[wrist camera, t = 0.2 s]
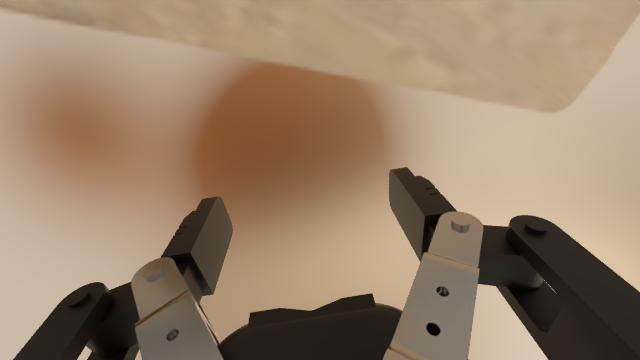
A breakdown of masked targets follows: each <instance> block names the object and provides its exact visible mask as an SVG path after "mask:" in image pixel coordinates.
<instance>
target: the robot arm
mask: <svg viewBox="0 0 640 360" xmlns="http://www.w3.org/2000/svg"><path fill="white" fill-rule="evenodd" d="M389 201H390V206H391V209H392V211H393V213H394V214H395V216H396V218H397V220H398V222H399V224H400V225H401V227H402V229H403V231H404V233H405V235H406V236H407V238H408V240H409V242H410V244H411V246H412V247H413V249H414V251H415V253H416V255H417V257H418V258H419V260H420V265H419V268H418V271H417V273H416V276H415V279H414V282H413V284H412V287H411V290H410V293H409V295H408V298H407V301H406V304H405V307H404V309H403V311H401V310H399V309H397V308H395V307H392V306H389V305H384V304H379V303H375V301H374V298H373V294H366V295H359V296H352V297H347V298H341V299H339V300H337V301H334V302H332V303H330V304H327V305H325V306H323V307H320V308H318V309H316V310H312V311H306V310H296V309H285V308H278V309H271V310H265V311H259V312H253V313H250V317H249V323H248V324H247V325H245V326H243V327H241V328H239V329H237V330H236V331H234V332H233V333H232V334H230V335H229V336H228V337H227V338H225V339H224V340H223V341H222V342H221V341H220V339H219V338H218V336H217V334H216V332H215V330H214V328H213V326H212V325H211V323H210V321H209V319H208V317H207V315H206V313H205V311H204V310H203V308H202V306H201V304H200V300H201V297H202V296H205V295H212V294H213V293H214V291H215V287H216V284H217V281H218V278H219V275H220V272H221V268H222V265H223V262H224V259H225V256H226V253H227V249H228V246H229V243H230V240H231V237H232V231H233V229H232V223H231V220H230V217H229V215H228V213H227V210H226V208H225V205H224V203H223V200H222V198H221V197H212V198H206V199H203V200H201V202H200V204H199V205H198V207H197V209H196V211H192V212H191V213H190V214H189V215H188V216H187V217H185V219H184V220H183V222H182V223H181V225H180V226H179V229H178V230H177V231H176V233H175V236H173V238H172V239H171V241H170V243H169V244H168V246H167V248H166V249H165V251H164V253H163V255H162V256H161V258H159V259H156V260H153V261H151V262H149V263H148V264H146V265H144V266H143V267H142V268H141V269H139V270H138V272H136V274H135V275H134V277H133V278H132V281H131V282H129V283H127V284H124V285H121V286H119V287H116V288H114V289H111V290H108V289H107V287H106V286H105V285H104V284H103V283H100V282H95V283H90V284H87V285H85V286H82V287H80V288H78V289H77V290H75V291H73V292H72V293H71V294H69V295H68V296H67V297H66V298H64V299H63V300H62V301H61V302H60V303H59V304H58V305H57V307H56V308H55V309H54V310H53V312H52V313H51V314H50V315H49V316H48V318H47V319H46V320H45V321H44V322H43V324H42V325H41V326H40V327H39V329H38V330H37V331H36V332H35V334H34V335H33V336H32V337H31V339H30V340H29V341H28V342H27V343H26V344H25V346H24V347H23V348H22V349H21V351H20V352H19V353H18V354H17V356H16V357H15V358H14V359H13V360H77V359H78V357H79V355H80V354H81V352H82V351H83V349H84V347H85V346H87V347H88V348H89V349H91V350H92V352H91V354H90V356H89V357H88V359H87V360H135V358H136V355H137V353H138V351H139V349H140V352H141V357H142V360H468V353H469V345H470V337H471V330H472V322H473V315H474V307H475V300H476V293H477V285H478V284H484V285H492V286H496V287H497V288H498V289H499V291H500V292H501V294H502V295H503V297H504V298H505V299H506V301H507V302H508V304H509V305H510V306H511V308H512V309H513V311H514V312H515V313H516V315H517V316H518V318H519V319H520V320H521V322H522V323H523V325H524V326H525V327H526V329H527V330H528V332H529V333H530V334H531V336H532V337H533V338H534V340H535V341H536V342H537V344H538V346H539V347H540V348H541V350H542V351H543V353H544V354H545V355H546V357H547V358H548V360H640V292H639V291H638V290H636V289H635V288H634V287H633V286H631V285H630V284H629V283H628V282H626V281H625V280H624V279H623V278H621V277H620V276H619V275H618V274H616V273H615V272H614V271H613V270H611V269H610V268H609V267H608V266H606V265H605V264H604V263H603V262H601V261H600V260H599V259H598V258H596V257H595V256H594V255H593V254H591V253H590V252H589V251H588V250H586V249H585V248H584V247H583V246H581V245H580V244H579V243H578V242H576V241H575V240H574V239H573V238H571V237H570V236H569V235H568V234H566V233H565V232H564V231H563V230H562V229H560V228H559V227H558V226H556V225H555V224H553V223H552V222H549V221H548V220H545V219H543V218H539V217H535V216H528V215H521V216H516V217H514V218H512V219H511V220H510V223H509V226H508V227H502V226H488V225H483V224H482V223H481V222H480V221H479V220H478V219H477V218H476V217H474V216H472V215H470V214H467V213H463V212H457V211H456V209H455V208H454V207H453V206H452V205H451V204H450V203H449V202H448V201H447V200H446V198H445V197H444V196H443V195H442V194H440V192H439V191H438V190H437V189H435V186H434V185H433V184H432V183H431V182H430V181H429V180H427V179H425V178H423V177H421V176H414V175H413V174H412V172H411V171H410V170H409V169H408V168H407V167H404V168H399V169H392V170H390V173H389ZM544 280H545V281H546V282H547V283H548V284H549V285H550V286H551V287H550V286H549V285H548V284H547V283H546V282H545V281H544ZM552 289H553V290H554V291H555V292H556V293H557V294H556V293H555V292H554V291H553V290H552Z"/></svg>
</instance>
